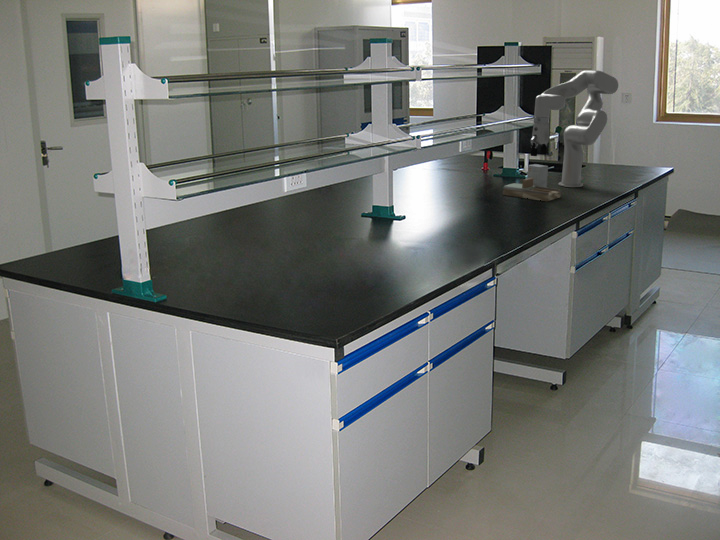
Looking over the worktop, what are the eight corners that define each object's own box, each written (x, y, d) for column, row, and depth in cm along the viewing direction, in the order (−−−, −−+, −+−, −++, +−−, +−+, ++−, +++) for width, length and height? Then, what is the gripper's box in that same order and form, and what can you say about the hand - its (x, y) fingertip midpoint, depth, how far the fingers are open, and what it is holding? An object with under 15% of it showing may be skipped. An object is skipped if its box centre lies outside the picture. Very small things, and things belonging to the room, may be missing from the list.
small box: (546, 191, 385) (548, 165, 381) (538, 192, 381) (540, 167, 378) (533, 188, 391) (535, 163, 387) (526, 190, 387) (527, 165, 384)
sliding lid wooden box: (517, 190, 386) (517, 183, 384) (560, 197, 370) (561, 189, 369) (502, 194, 376) (503, 186, 374) (546, 201, 360) (547, 193, 359)
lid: (513, 185, 384) (514, 175, 382) (535, 188, 376) (535, 178, 375) (503, 187, 377) (504, 177, 375) (524, 190, 369) (525, 180, 368)
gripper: (539, 122, 367) (536, 157, 372) (556, 120, 380) (553, 154, 385) (526, 121, 372) (523, 155, 377) (543, 119, 385) (540, 152, 389)
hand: (538, 155), depth 381 cm, fingers open, 9 cm apart
